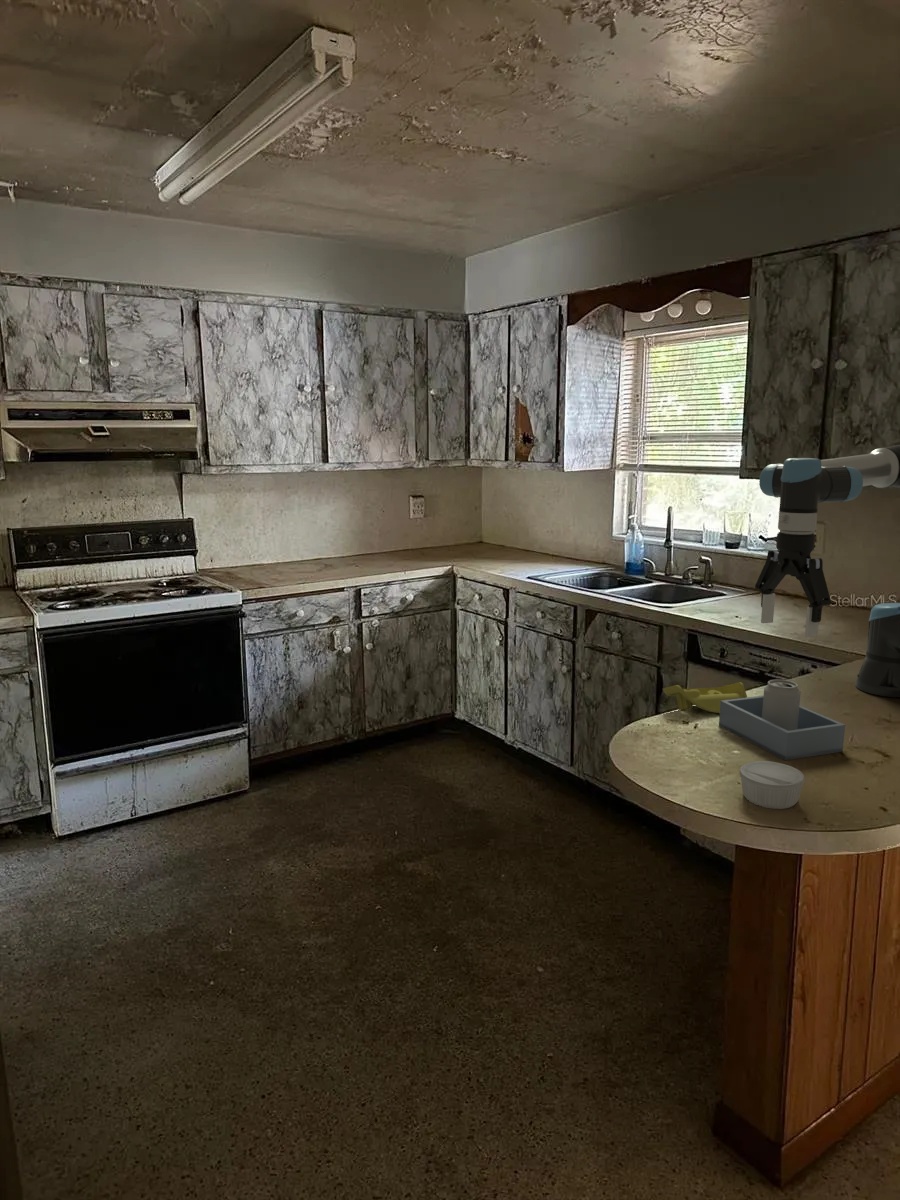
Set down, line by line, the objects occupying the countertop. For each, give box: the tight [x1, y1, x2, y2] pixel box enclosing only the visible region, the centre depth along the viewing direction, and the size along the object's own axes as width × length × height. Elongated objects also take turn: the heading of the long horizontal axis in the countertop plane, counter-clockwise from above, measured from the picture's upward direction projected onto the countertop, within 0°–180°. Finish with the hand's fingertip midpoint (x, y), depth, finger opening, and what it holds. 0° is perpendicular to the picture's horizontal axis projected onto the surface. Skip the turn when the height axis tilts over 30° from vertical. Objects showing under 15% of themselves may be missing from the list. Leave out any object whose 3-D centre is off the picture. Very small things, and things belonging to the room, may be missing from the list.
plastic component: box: [662, 681, 748, 714], centre depth 206 cm, size 20×7×10 cm
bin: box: [718, 695, 846, 761], centre depth 186 cm, size 15×22×6 cm
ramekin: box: [739, 760, 805, 810], centre depth 155 cm, size 11×11×5 cm
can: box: [762, 679, 802, 731], centre depth 185 cm, size 8×8×12 cm
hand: (788, 629), depth 182 cm, fingers open, 13 cm apart
